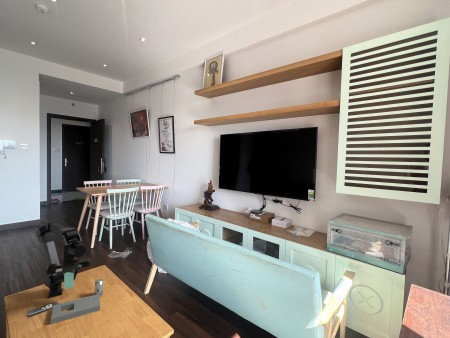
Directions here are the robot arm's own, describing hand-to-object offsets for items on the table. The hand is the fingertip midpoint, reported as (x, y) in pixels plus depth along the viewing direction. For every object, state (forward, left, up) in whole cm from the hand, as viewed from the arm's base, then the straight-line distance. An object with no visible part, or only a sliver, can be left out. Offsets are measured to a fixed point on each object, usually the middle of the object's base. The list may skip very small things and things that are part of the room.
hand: (69, 281), depth 117 cm
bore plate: (+9, +4, -11) cm, 15 cm away
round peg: (0, +14, -11) cm, 18 cm away
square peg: (0, 0, -3) cm, 3 cm away
